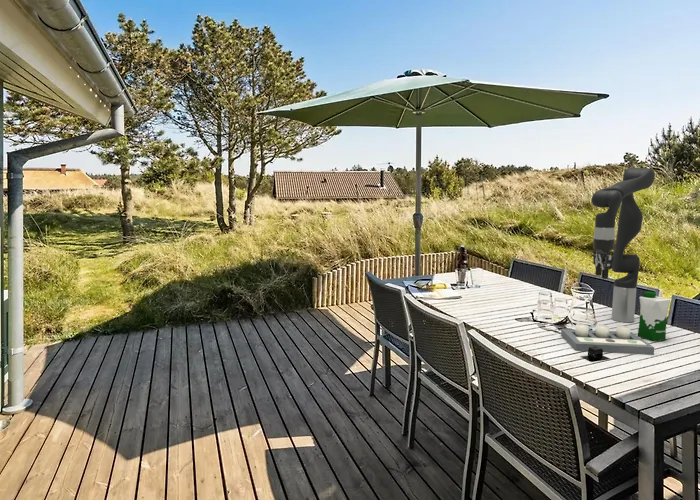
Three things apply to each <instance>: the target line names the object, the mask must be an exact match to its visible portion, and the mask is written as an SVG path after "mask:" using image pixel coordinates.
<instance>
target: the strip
mask: <svg viewBox="0 0 700 500" xmlns="http://www.w3.org/2000/svg"><path fill="white" fill-rule="evenodd" d="M576 339H577V340H578V341H579V342H581V343H601V344H621V345H642V346H647V345H646V344H645V343H643V342H642V341H640V340H624V339H602V338H581V337H576Z"/></svg>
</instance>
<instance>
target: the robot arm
mask: <svg viewBox="0 0 700 500" xmlns="http://www.w3.org/2000/svg"><path fill="white" fill-rule="evenodd" d="M655 174H656V173H655V170H653V169H652V168H647V167H628V168H626V169H625V170H624V172H623V177H622V180H621V181H617V182H616V183H614V184H613V185H611V186H609V187H604V188H601V189H598V190H596V191H595V192H594V193H593V194H592V196H591V204H592V205H593V206H594V207H597V208H607V211H606V212H600V213H598V214H596V215H595V224H594V232H593V241H592V242H593V245H592V249H594V251H593V254H592V256H593V257H592V259H593V260H592V261H593V263H592V264H593V265H594V267H595V272H594V273H595V276H597V277H601V279H603V280H605V279H606V280H608V278H609V271H610V270H612V271H613V273H618V274H619V273H622V274H626V275H625V276H623V277H620V278H616V279H614V281H613V292H612V293H613V294H612V304H611V305H612V308H611V309H612V310H611V319H612V320H613V321H616V322H621V323H634V322H635V311H636V299H637V298H636V297H637V287H638V282H639V281H638V280H639V272H640V264H641V261H640V257H639V255H637V254H632V253H631V254H629V253H625V250H626V247H628V245H629V244H630V242H632V240H633V239H634V238H636V237H637V235H639V233H640V232H641V230H642V225H643V218H644V216H643V212H642V211H641V208H640V207H639V205H638V204H637V202H636V200H635V198H634V193H637V192H639V191H643V190H646V189H649V188H650V187H651V186H652V185H653V184H654V181H655V179H656V178H655V176H656V175H655ZM619 209H620V210H619ZM618 211H619V214H618ZM617 215H619V216H618V223H617V232H616V218H617ZM615 237H616V238H615ZM595 250H596V251H595ZM613 250H614V251H613ZM611 251H613V254H612V255H611V254H610V253H611ZM624 253H625V254H624Z"/></svg>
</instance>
